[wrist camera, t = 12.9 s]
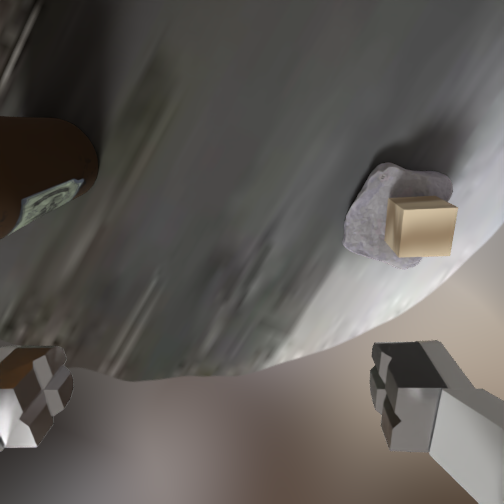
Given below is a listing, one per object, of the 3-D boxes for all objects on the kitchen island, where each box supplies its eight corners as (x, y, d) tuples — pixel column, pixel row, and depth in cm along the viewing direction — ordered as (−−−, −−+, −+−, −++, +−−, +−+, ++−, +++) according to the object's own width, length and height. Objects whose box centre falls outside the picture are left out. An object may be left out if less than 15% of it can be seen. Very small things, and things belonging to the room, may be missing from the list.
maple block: (388, 197, 38) (403, 209, 33) (435, 195, 37) (457, 207, 33) (384, 240, 39) (398, 257, 35) (429, 238, 39) (449, 255, 34)
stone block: (334, 242, 46) (410, 265, 44) (334, 253, 41) (418, 278, 40) (365, 153, 42) (449, 174, 40) (367, 154, 37) (463, 178, 36)
